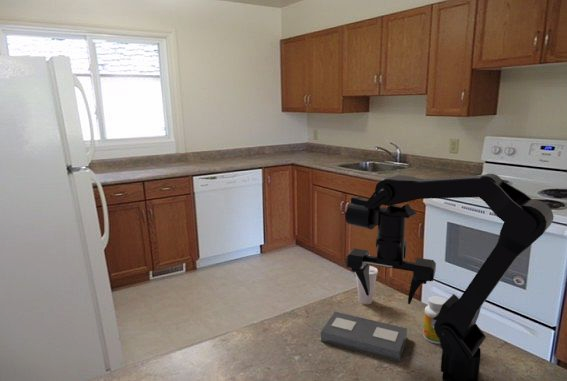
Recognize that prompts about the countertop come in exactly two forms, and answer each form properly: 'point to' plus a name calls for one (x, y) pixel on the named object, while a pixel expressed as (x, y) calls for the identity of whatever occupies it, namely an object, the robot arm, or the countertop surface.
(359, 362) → the countertop surface
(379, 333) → the label box
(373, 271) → the smoothie
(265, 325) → the countertop surface
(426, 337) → the supplement bottle
